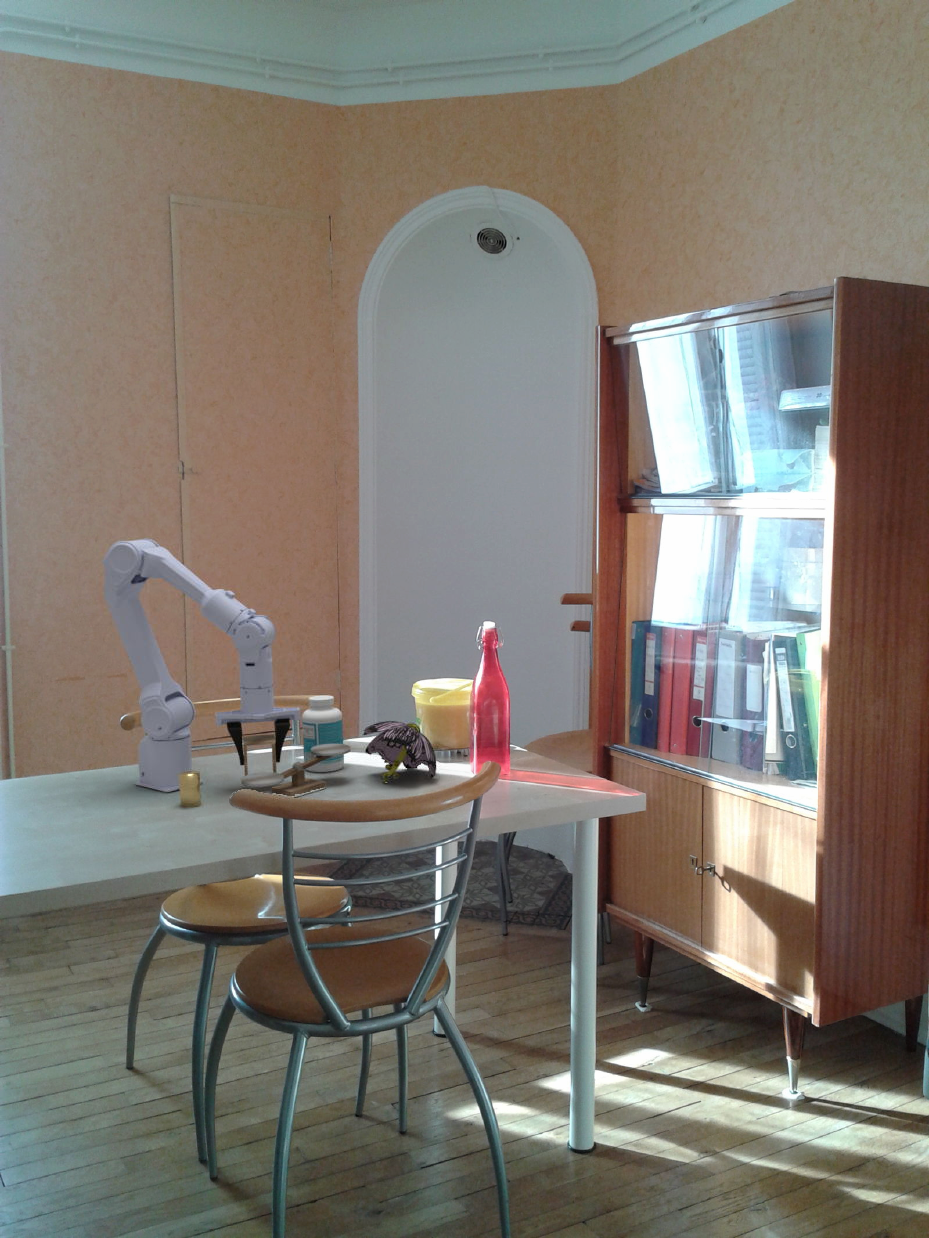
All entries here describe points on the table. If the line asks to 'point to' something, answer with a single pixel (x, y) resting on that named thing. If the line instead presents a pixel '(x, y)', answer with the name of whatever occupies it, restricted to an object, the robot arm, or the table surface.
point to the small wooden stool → (259, 741)
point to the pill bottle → (322, 731)
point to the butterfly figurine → (401, 747)
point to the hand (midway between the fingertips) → (260, 762)
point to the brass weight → (190, 789)
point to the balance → (296, 773)
